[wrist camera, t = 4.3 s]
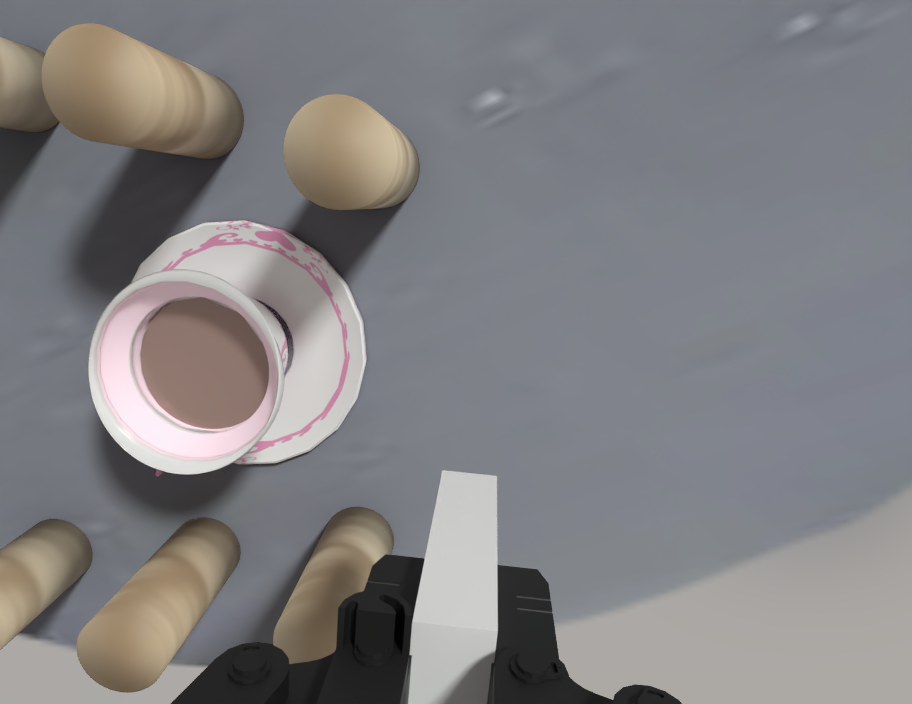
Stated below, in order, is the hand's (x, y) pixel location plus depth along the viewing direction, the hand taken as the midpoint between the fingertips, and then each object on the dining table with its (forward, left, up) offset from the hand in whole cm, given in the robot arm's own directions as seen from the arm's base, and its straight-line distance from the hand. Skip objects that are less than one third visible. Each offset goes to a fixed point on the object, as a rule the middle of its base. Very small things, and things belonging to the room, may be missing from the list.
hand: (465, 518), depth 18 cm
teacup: (-11, +1, -14) cm, 18 cm away
